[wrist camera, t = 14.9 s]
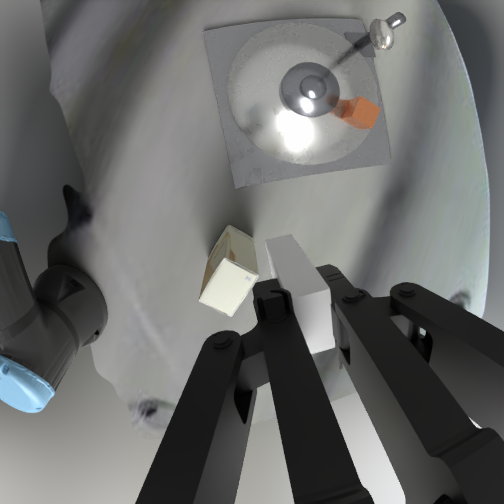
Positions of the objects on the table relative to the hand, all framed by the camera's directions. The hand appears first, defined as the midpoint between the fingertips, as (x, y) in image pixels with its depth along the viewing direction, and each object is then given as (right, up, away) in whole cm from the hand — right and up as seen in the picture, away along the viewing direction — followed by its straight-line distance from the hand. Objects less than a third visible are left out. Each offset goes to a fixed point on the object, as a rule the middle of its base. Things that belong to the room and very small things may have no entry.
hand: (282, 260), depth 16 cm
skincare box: (-5, +1, +27) cm, 27 cm away
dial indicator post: (+14, +30, +17) cm, 37 cm away
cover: (+5, +20, +17) cm, 27 cm away
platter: (+5, +21, +18) cm, 28 cm away
